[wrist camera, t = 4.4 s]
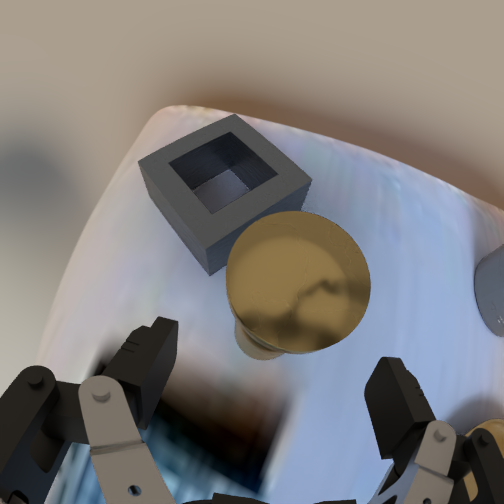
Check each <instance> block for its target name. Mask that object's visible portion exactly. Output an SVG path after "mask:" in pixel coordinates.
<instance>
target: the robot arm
mask: <svg viewBox="0 0 504 504" xmlns="http://www.w3.org/2000/svg"><path fill="white" fill-rule="evenodd" d="M475 293H476V299H477V303H478V307H479V310H480V313H481V315H482V318H483V320H484V321H485V323H486V325H487V326H488V328H489V329H490V330H491V331H492V332H493V333H494V334H495V335H497V336H500V337H504V244H503V245H502V246H500V247H499V248H497V249H496V250H495V251H493V252H492V253H490V254H489V255H488V256H486V257H485V258H483V259H482V260H481V261H480V262H479V264H478V267H477V270H476V274H475ZM177 340H178V321H175V320H171V319H167V318H163V317H160V316H159V317H157V319H156V320H155V322H154V323H153V325H152V326H151V328H150V327H146V326H141V327H139V328H137V329H136V330H134V331H132V333H131V334H130V335H129V337H128V338H127V339H126V342H124V343H123V345H122V346H121V349H119V350H118V352H117V353H116V355H115V356H114V357H113V359H112V360H111V362H110V363H109V364H108V366H107V367H106V369H105V370H104V372H103V373H102V374H101V376H93V377H90V378H88V379H86V380H85V381H83V383H82V384H74V383H67V382H61V381H56V379H55V376H54V374H53V372H52V371H51V370H49V369H48V368H46V367H44V366H37V365H36V366H30V367H27V368H26V369H24V370H22V371H21V372H20V374H19V375H18V376H17V377H16V379H15V380H14V381H13V382H12V383H11V385H10V386H9V387H8V389H7V390H6V391H5V392H4V394H3V395H2V396H1V398H0V504H44V502H45V499H46V497H47V495H48V493H49V490H50V488H51V486H52V483H53V481H54V479H55V477H56V475H57V472H58V470H59V468H60V466H61V464H62V462H63V460H64V458H65V456H66V454H67V451H68V449H69V447H70V445H71V443H72V442H76V443H82V444H88V445H90V448H91V450H90V455H91V459H92V463H93V466H94V469H95V472H96V475H97V478H98V481H99V484H100V487H101V490H102V492H103V495H104V498H105V500H106V503H107V504H176V502H175V500H174V499H173V497H172V495H171V493H170V491H169V489H168V488H167V486H166V484H165V482H164V480H163V478H162V476H161V474H160V472H159V470H158V468H157V466H156V464H155V462H154V460H153V458H152V456H151V453H150V451H149V449H148V447H147V445H146V443H145V442H144V441H142V439H141V437H140V435H139V432H138V430H137V428H140V429H143V430H146V429H147V426H148V424H149V422H150V419H151V417H152V415H153V412H154V410H155V408H156V406H157V403H158V401H159V399H160V396H161V394H162V392H163V390H164V387H165V385H166V383H167V381H168V378H169V376H170V374H171V372H172V369H173V367H174V364H175V360H176V355H177ZM364 397H365V401H366V404H367V408H368V411H369V415H370V418H371V422H372V425H373V429H374V433H375V436H376V440H377V444H378V448H379V451H380V455H381V459H392V458H393V461H394V462H393V463H392V464H391V465H390V467H389V469H388V470H387V472H386V474H385V476H384V478H383V480H382V481H381V483H380V485H379V487H378V488H377V490H376V492H375V494H374V495H373V497H372V498H371V500H370V501H369V502H368V503H367V504H504V458H503V456H502V454H501V451H500V449H499V447H498V445H497V443H496V440H495V438H494V436H493V435H492V434H491V433H490V432H489V431H488V430H486V429H484V428H476V429H475V430H474V431H473V432H472V433H471V434H470V435H469V436H468V437H467V436H461V435H456V433H455V431H454V429H453V428H452V427H451V426H450V425H449V424H447V423H446V422H443V421H439V420H436V418H435V416H434V414H433V412H432V409H431V407H430V405H429V403H428V401H427V399H426V397H425V396H424V393H423V391H422V389H420V385H419V383H418V381H417V379H416V378H415V377H414V376H413V375H412V374H411V373H410V372H409V371H408V370H406V368H405V366H404V364H403V362H402V360H401V359H400V358H395V357H382V358H381V359H380V360H379V362H378V364H377V366H376V367H375V369H374V371H373V373H372V375H371V376H370V378H369V380H368V382H367V384H366V386H365V391H364ZM471 471H472V473H473V476H474V479H475V482H476V485H477V488H478V492H477V495H476V497H475V498H474V499H473V500H472V501H471V502H470V498H469V495H468V491H467V488H466V485H465V481H464V477H466V476H467V475H468V474H469V473H470V472H471ZM182 504H268V503H265V502H262V501H258V500H255V499H252V498H246V497H238V496H231V495H225V494H219V493H214V494H213V497H212V500H197V501H191V502H185V503H182ZM315 504H356V499H354V500H340V501H323V502H319V503H315Z"/></svg>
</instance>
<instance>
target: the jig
mask: <svg viewBox="0 0 504 504" xmlns="http://www.w3.org/2000/svg"><path fill="white" fill-rule="evenodd" d="M138 164H139V167H140V170H141V173H142V176H143V179H144V182H145V185H146V188H147V190H148V193H149V196H150V198H151V199H152V201H153V202H154V203H155V205H156V206H157V207H158V209H159V210H160V212H161V213H162V214H163V216H164V217H165V218H166V220H167V221H168V222H169V224H170V225H171V226H172V228H173V229H174V230H175V232H176V233H177V234H178V236H179V237H180V238H181V240H182V241H183V242H184V244H185V245H186V246H187V248H188V249H189V250H190V252H191V253H192V254H193V255H194V257H195V258H196V259H197V261H198V262H199V263H200V265H201V266H202V267H203V268H204V270H205V271H206V272H207V274H208V275H209V276H211V275H213V274H214V273H215V272H217V271H218V270H220V269H221V268H222V267H224V266H225V265H227V262H228V258H229V255H230V252H231V250H232V247H233V246H234V244H235V242H236V240H237V239H238V238H239V236H240V235H241V234H242V233H243V232H244V231H245V230H246V229H247V228H248V227H249V226H250V225H252V224H253V223H254V222H256V221H258V220H259V219H261V218H263V217H266V216H268V215H271V214H274V213H278V212H285V211H300V210H301V208H302V205H303V203H304V200H305V198H306V195H307V192H308V190H309V187H310V185H311V182H312V180H313V179H311V178H310V177H309V176H308V175H307V174H306V173H305V172H304V171H303V170H302V169H300V168H299V167H298V166H297V165H296V164H295V163H294V162H293V161H291V160H290V159H289V158H288V157H287V156H286V155H285V154H283V153H282V152H281V151H280V150H279V149H278V148H276V147H275V146H274V145H273V144H272V143H270V142H269V141H268V140H267V139H266V138H265V137H263V136H262V135H261V134H260V133H258V132H257V131H256V130H255V129H254V128H252V127H251V126H250V125H249V124H247V123H246V122H245V121H244V120H242V119H241V118H240V117H238V116H237V115H236V114H233V115H230V116H228V117H226V118H223V119H221V120H219V121H217V122H214V123H212V124H210V125H208V126H205V127H203V128H201V129H199V130H197V131H195V132H193V133H191V134H189V135H187V136H185V137H182V138H180V139H178V140H176V141H175V142H173V143H171V144H169V145H167V146H165V147H163V148H161V149H159V150H157V151H155V152H154V153H152V154H150V155H148V156H146V157H145V158H143V159H141V160H139V161H138ZM229 168H230V169H231V170H232V171H233V172H234V173H235V174H236V175H237V176H238V177H239V178H240V179H241V180H242V181H243V182H244V183H245V184H246V185H247V186H248V187H249V188H250V189H251V191H250V192H248V193H246V194H245V195H243V196H241V197H240V198H238V199H236V200H235V201H233V202H231V203H230V204H228V205H227V206H225V207H223V208H222V209H220V210H219V211H217V212H215V213H214V214H211V213H210V211H209V210H208V209H207V208H206V207H205V206H204V204H203V203H202V202H201V201H200V200H199V199H198V197H197V196H196V195H195V194H194V193H193V192H192V189H194V188H195V187H197V186H199V185H201V184H202V183H204V182H206V181H208V180H209V179H211V178H213V177H215V176H217V175H218V174H220V173H222V172H224V171H226V170H227V169H229Z"/></svg>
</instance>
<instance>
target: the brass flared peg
mask: <svg viewBox="0 0 504 504" xmlns="http://www.w3.org/2000/svg"><path fill="white" fill-rule="evenodd" d="M370 288H371V282H370V274H369V270H368V266H367V263H366V260H365V258H364V256H363V254H362V252H361V250H360V248H359V247H358V245H357V244H356V242H355V241H354V240H353V239H352V238H351V236H350V235H349V234H348V233H347V232H345V231H344V230H343V229H342V228H341V227H339V226H338V225H337V224H335V223H333V222H332V221H330V220H328V219H326V218H324V217H321V216H319V215H315V214H312V213H307V212H301V211H285V212H278V213H274V214H271V215H268V216H266V217H263V218H261V219H259V220H258V221H256V222H254V223H253V224H252V225H250V226H249V227H248V228H247V229H246V230H245V231H244V232H243V233H242V234H241V235H240V236H239V238H238V239H237V240H236V242H235V244H234V246H233V247H232V250H231V252H230V255H229V258H228V262H227V269H226V290H227V298H228V302H229V305H230V308H231V311H232V313H233V315H234V317H235V319H236V323H235V338H236V341H237V344H238V346H239V347H240V349H241V350H242V351H243V352H244V353H245V354H247V355H248V356H250V357H252V358H254V359H258V360H270V359H274V358H276V357H278V356H280V355H282V354H284V353H287V354H306V353H312V352H315V351H319V350H321V349H324V348H327V347H329V346H331V345H334V344H336V343H338V342H339V341H341V340H342V339H344V338H345V337H347V336H348V335H349V334H350V333H351V332H352V331H353V330H354V329H355V328H356V327H357V325H358V324H359V323H360V321H361V319H362V318H363V316H364V314H365V311H366V309H367V306H368V302H369V298H370Z"/></svg>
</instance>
